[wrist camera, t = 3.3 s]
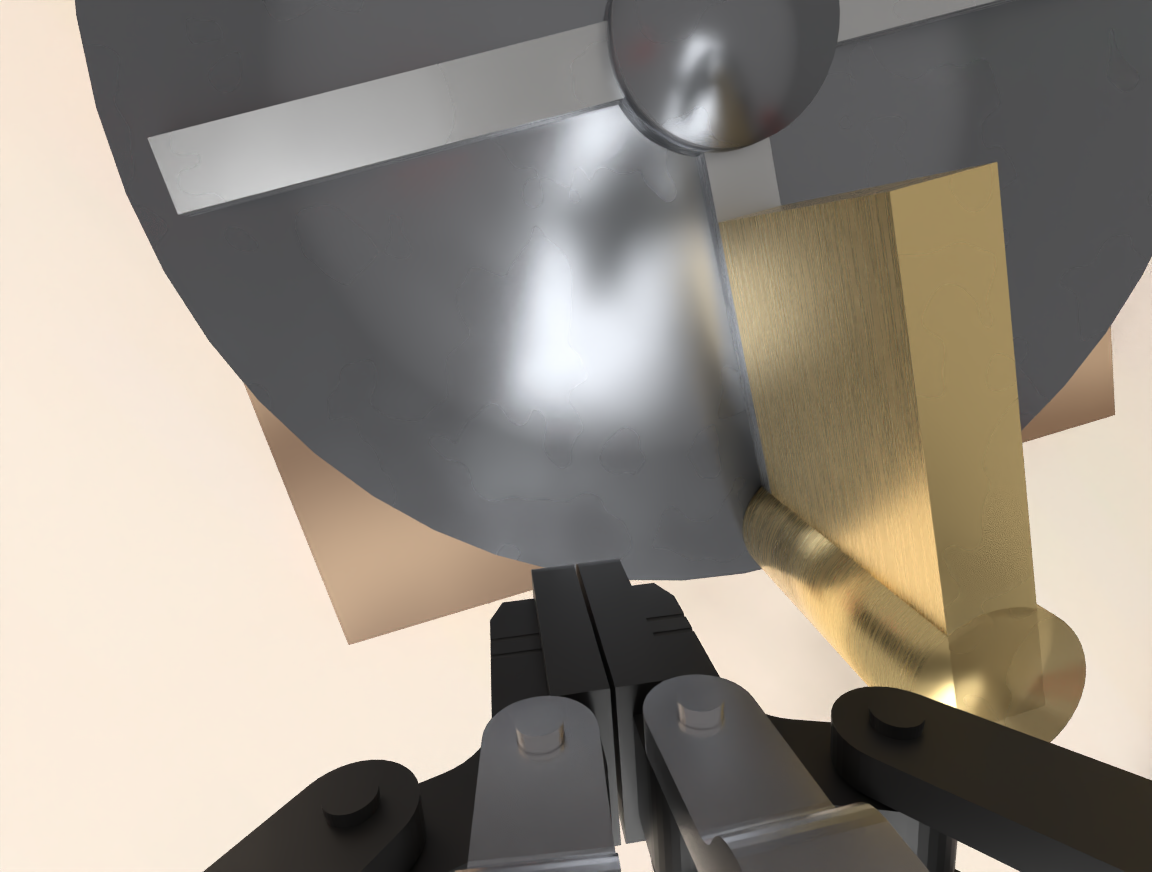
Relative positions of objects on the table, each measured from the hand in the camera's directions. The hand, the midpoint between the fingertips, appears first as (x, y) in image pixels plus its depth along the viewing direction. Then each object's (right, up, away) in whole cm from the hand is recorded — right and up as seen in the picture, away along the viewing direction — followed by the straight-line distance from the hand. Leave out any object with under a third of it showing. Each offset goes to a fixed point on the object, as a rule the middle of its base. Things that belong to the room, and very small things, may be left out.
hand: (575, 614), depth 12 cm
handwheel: (+3, +11, +4) cm, 12 cm away
